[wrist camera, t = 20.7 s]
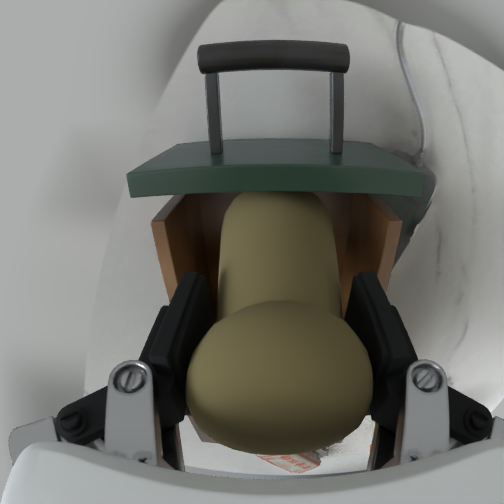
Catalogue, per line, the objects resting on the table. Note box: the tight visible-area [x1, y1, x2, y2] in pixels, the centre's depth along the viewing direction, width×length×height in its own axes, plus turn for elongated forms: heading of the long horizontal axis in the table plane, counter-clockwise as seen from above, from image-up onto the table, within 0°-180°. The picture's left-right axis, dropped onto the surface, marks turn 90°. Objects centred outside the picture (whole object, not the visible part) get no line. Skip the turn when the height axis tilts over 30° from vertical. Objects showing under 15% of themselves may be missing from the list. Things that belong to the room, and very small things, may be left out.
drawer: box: [126, 40, 425, 324], centre depth 17 cm, size 21×13×8 cm, turn 2°
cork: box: [186, 192, 373, 455], centre depth 10 cm, size 6×6×11 cm
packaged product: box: [256, 449, 328, 473], centre depth 43 cm, size 18×5×10 cm
